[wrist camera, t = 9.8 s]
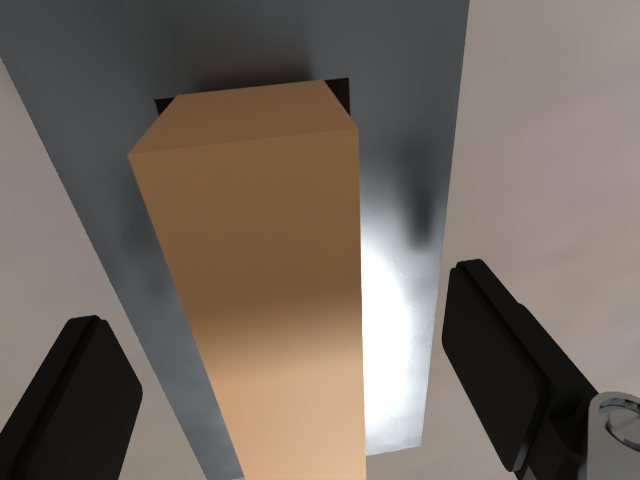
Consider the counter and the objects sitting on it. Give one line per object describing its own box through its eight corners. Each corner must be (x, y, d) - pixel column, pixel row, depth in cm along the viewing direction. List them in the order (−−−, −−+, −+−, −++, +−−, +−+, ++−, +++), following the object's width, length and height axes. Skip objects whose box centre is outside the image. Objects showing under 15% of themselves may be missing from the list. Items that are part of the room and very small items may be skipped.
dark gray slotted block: (-8, -164, 9) (-147, -246, 6) (425, -194, 9) (500, -282, 6) (216, 413, 21) (208, 483, 18) (398, 383, 21) (420, 446, 18)
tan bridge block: (204, 62, 12) (126, 154, 5) (303, 52, 12) (358, 127, 5) (265, 339, 18) (268, 540, 11) (328, 329, 18) (367, 522, 12)
